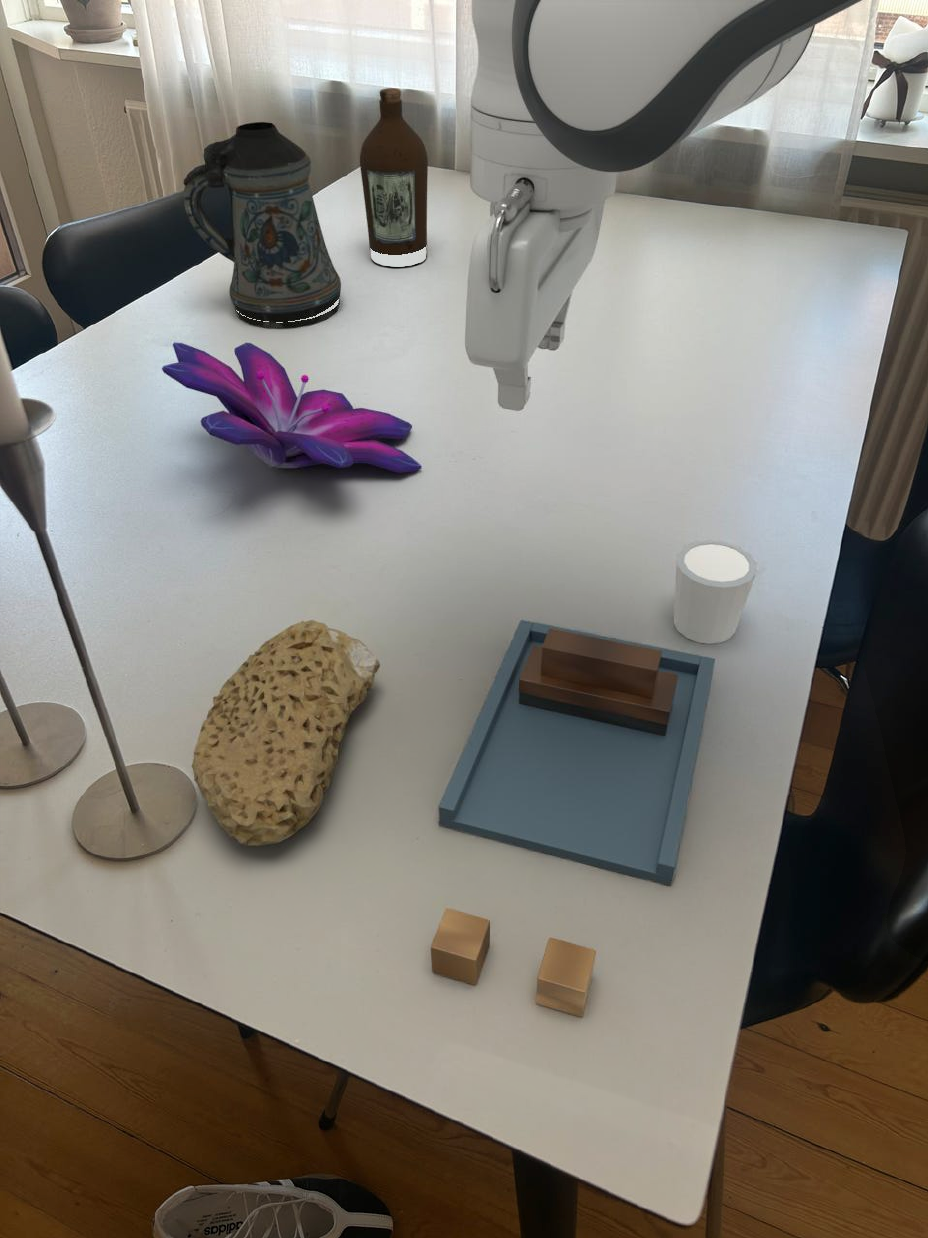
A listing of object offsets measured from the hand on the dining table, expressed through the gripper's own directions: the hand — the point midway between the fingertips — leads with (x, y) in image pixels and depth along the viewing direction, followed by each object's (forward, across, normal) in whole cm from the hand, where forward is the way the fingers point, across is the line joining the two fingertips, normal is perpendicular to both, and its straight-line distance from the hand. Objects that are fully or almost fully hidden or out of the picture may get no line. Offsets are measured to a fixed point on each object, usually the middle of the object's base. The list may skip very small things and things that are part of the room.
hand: (532, 373), depth 66 cm
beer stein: (+28, +65, +55) cm, 90 cm away
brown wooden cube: (+26, -28, -4) cm, 38 cm away
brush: (+26, -4, -8) cm, 28 cm away
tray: (+27, -8, -8) cm, 29 cm away
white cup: (+27, +10, -15) cm, 33 cm away
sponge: (+28, -15, +14) cm, 35 cm away
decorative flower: (+28, +27, +33) cm, 51 cm away
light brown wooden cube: (+26, -28, -11) cm, 40 cm away
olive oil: (+28, +90, +46) cm, 105 cm away
